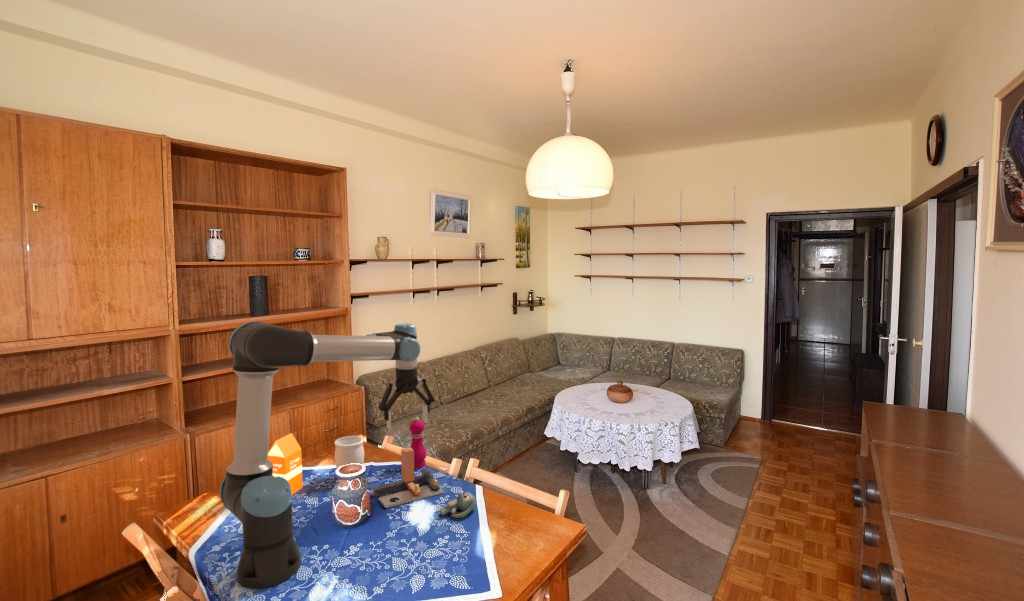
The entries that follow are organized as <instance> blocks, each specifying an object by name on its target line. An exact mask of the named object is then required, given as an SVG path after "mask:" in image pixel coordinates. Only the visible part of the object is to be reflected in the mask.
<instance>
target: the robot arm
mask: <svg viewBox="0 0 1024 601" xmlns="http://www.w3.org/2000/svg"><path fill="white" fill-rule="evenodd" d="M417 335H418V334H417V327H416V325H415V324H414V323H405V322H404V323H397V324H395V325H394V330H391V331H384V332H377V333H376V332H373V333H369V334H366V335H347V334H345V335H344V334H341V335H340V334H339V335H338V334H336V335H335V334H313V333H312V332H311V331H309V330H297V329H292V328H291V329H290V328H288V327H284V326H279V325H276V324H271V323H268V322H265V321H248V322H245V323H242V324H241V325H239V326H237V327H236V328H235V329H234V330H233V331H232V333H231V334H230V337H229V340H228V348H229V350H230V353H231V354H232V356H233V359H232V361H233V362H232V371H233V373H234V374H235V375H237V376H238V378H237V379H238V380H237V397H236V410H235V411H236V412H235V414H236V415H235V425H234V426H235V428H234V429H235V430H234V445H233V447H234V448H233V456H232V457H233V460H232V462H231V463H230V464H229V465H228V466H227V467H226V471H225V472H226V473H225V476H224V478H223V479H222V481H221V483H220V487H219V497H220V500H221V502H222V505H223V506H224V507H225V508H226V509H227V511H229V512H230V513H231V514H232V515H233V516H234V517H236V519H238V520H239V522H240V523H241V526H242V538H243V539H242V541H243V549H242V551H241V555H240V558H239V561H238V564H237V568H236V579H237V583H238V584H239V585H240V586H241V587H242V588H243V587H244V588H247V589H263V588H268V587H269V588H270V587H272V586H276V585H279V584H280V583H283V582H285V581H287V580H288V579H290V578H292V577H293V576H294V575H295V574H296V573H297V572H298V570H299V569H300V568H301V564H302V560H301V559H302V555H301V552H300V549H299V547H298V544H297V543H296V539H295V538H294V534H293V533H294V532H293V531H294V528H293V494H292V491H291V486H290V483H289V482H288V481H287V480H286V479H284V478H282V477H279V476H277V477H275V476H273V463H272V462H271V461H270V460H269V459H268V453H269V445H270V444H269V442H270V427H271V426H270V425H271V412H272V410H271V409H272V398H273V397H272V396H273V395H272V394H273V379H274V376H275V374H277V373H278V372H279V371H280V368H289V367H290V368H291V367H293V368H294V367H307V366H309V365H310V364H311V363H321V362H322V363H325V362H326V363H327V362H332V363H333V362H363V361H364V362H366V361H368V362H369V361H395V367H396V368H395V382H390V381H388V382H386V389H385V391H384V393H383V395H382V398H381V400H380V402H379V403H378V406H377V408H378V410H379V411H381V412H383V419H384V421H386V429H387V430H389V431H391V430H392V410H391V409H392V407H393V405H394V404H395V403H396V401H397V400H398V398H399V397H401V395H402V394H403V395H405V394H412V393H413V392H414V393H415V394H416V395H417V396H418V397H419V398H420V399H421V400H422V401H423V403H422V422H423V423H424V424H427V423H428V422H429V421H428V420H429V419H428V415H429V413H430V412H431V410H430V409H431V408H430V406H431V405H432V404H431V403H435V398H434V396H433V394H432V393H431V390H430V389H429V386H428V384H427V379H426V378H424V377H422V376H421V377H420V378H418V367H417V366H418V357H419V356H420V353H421V345H420V342H419V341H418V339H417V338H418V336H417ZM418 384H419V385H421V388H422V389H423V391H424V392H425V395H426V396H425V395H424V394H423V393H422V392H421V391H420V390H419V388H417V387H418ZM394 388H395V390H394V392H393V394H392V395H391V393H392V391H393V389H394Z"/></svg>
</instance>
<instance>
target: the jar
mask: <svg viewBox="0 0 1024 601" xmlns="http://www.w3.org/2000/svg"><path fill="white" fill-rule="evenodd" d="M364 442H365V438H364V437H363V436H360V435H359V436H358V435H349V436H348V435H347V436H343V437H339V438H337V439H336V440H335V441H334V446H335V452H334V462H335V467H336V469H337V468H338V467H339V466H342V465H346V464H350V463H360V464H363V465H364V461H365V448H364Z"/></svg>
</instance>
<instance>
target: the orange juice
mask: <svg viewBox="0 0 1024 601" xmlns="http://www.w3.org/2000/svg"><path fill="white" fill-rule="evenodd" d="M302 453H303V452H302V447H301V446H300V444H299V443H298V441H297V439H296V437H295V435H294V434H293V433H292V432H291V433H289V434H287V435H284V436H283V437H281V438H279V439H277V440H275V441H274V443H273V445H272V446H271V448H270V449H269V450H268V459H269V460H270V461H271V462H272V463H273V476H275V477H277V476H279V477H282V478H284V479H286V480H287V481H288V482H289V483H290V486H291V491H292V495H294V494H295V493H297V492H298V491H300V490H301V489H303V462H302V461H303V458H302Z"/></svg>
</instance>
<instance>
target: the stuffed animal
mask: <svg viewBox="0 0 1024 601" xmlns="http://www.w3.org/2000/svg"><path fill="white" fill-rule="evenodd" d="M476 505H477V500H476V497H475V495H473V494H472V493H471V492H470V491H466V492H461V491H458V492H457V496H456V498H455V499H453V500H450V501H448V502H447V504H446V506H442V507H440V508H439V512H440V514H441V515H442V516H443V515H446V514H447V513H451V515H450V518H455V519H462V518H465V517H467V515H469V514H470V513H471V511H473V510H474V509H475V507H476ZM457 510H460V512H459V511H458V512H456V511H457Z"/></svg>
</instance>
